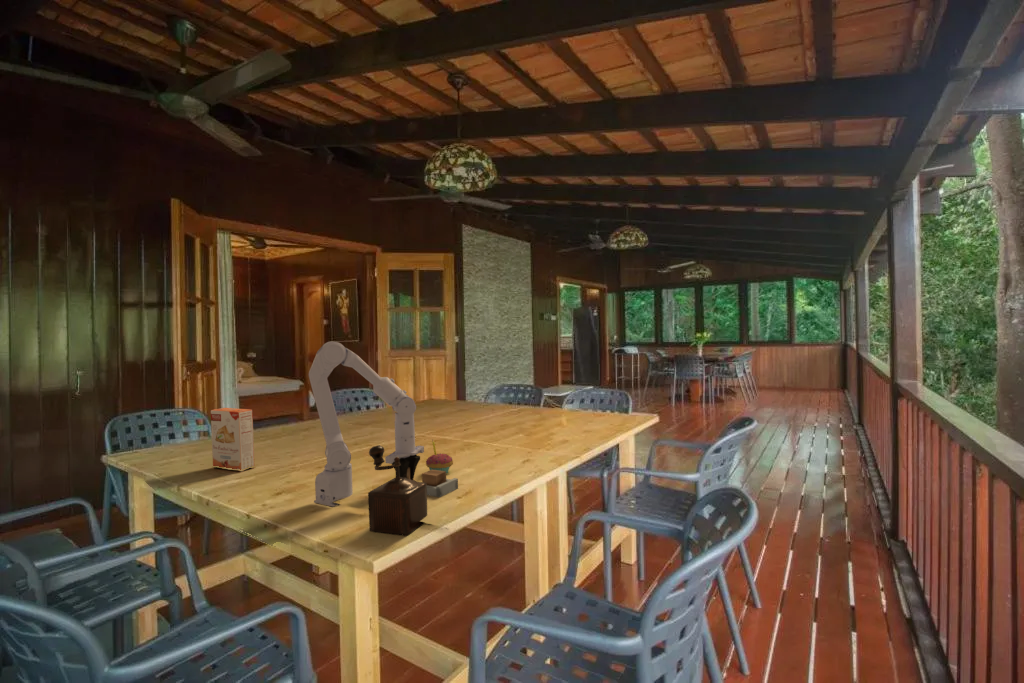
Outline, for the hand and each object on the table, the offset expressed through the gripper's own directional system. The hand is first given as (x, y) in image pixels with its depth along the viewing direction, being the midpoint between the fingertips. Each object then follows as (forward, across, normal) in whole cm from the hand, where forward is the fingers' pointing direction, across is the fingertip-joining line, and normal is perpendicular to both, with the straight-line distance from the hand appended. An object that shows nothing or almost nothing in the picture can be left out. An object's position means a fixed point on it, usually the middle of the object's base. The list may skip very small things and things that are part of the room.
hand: (406, 482), depth 146 cm
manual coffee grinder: (+2, -22, -15) cm, 27 cm away
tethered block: (+1, 0, -6) cm, 6 cm away
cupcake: (+2, +15, -1) cm, 15 cm away
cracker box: (+2, -9, +71) cm, 72 cm away
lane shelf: (+2, 0, -7) cm, 7 cm away
